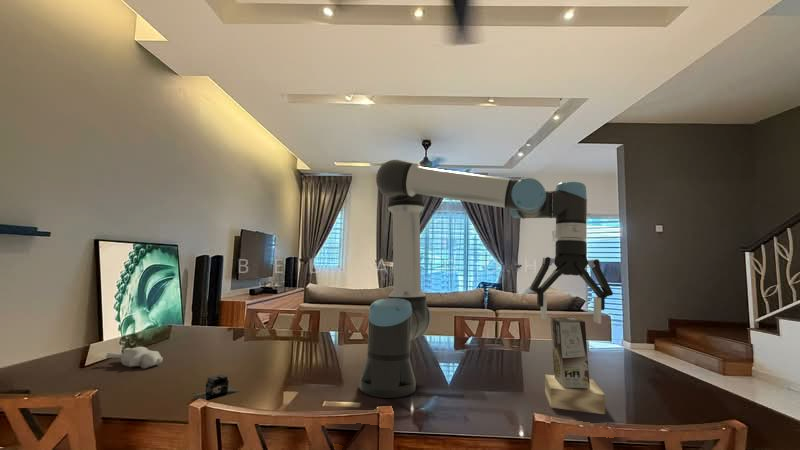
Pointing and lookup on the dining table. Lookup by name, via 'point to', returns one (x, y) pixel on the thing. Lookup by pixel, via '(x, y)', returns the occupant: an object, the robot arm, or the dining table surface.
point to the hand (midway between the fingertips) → (570, 321)
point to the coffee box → (570, 352)
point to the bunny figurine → (137, 357)
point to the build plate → (216, 393)
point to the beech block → (574, 396)
